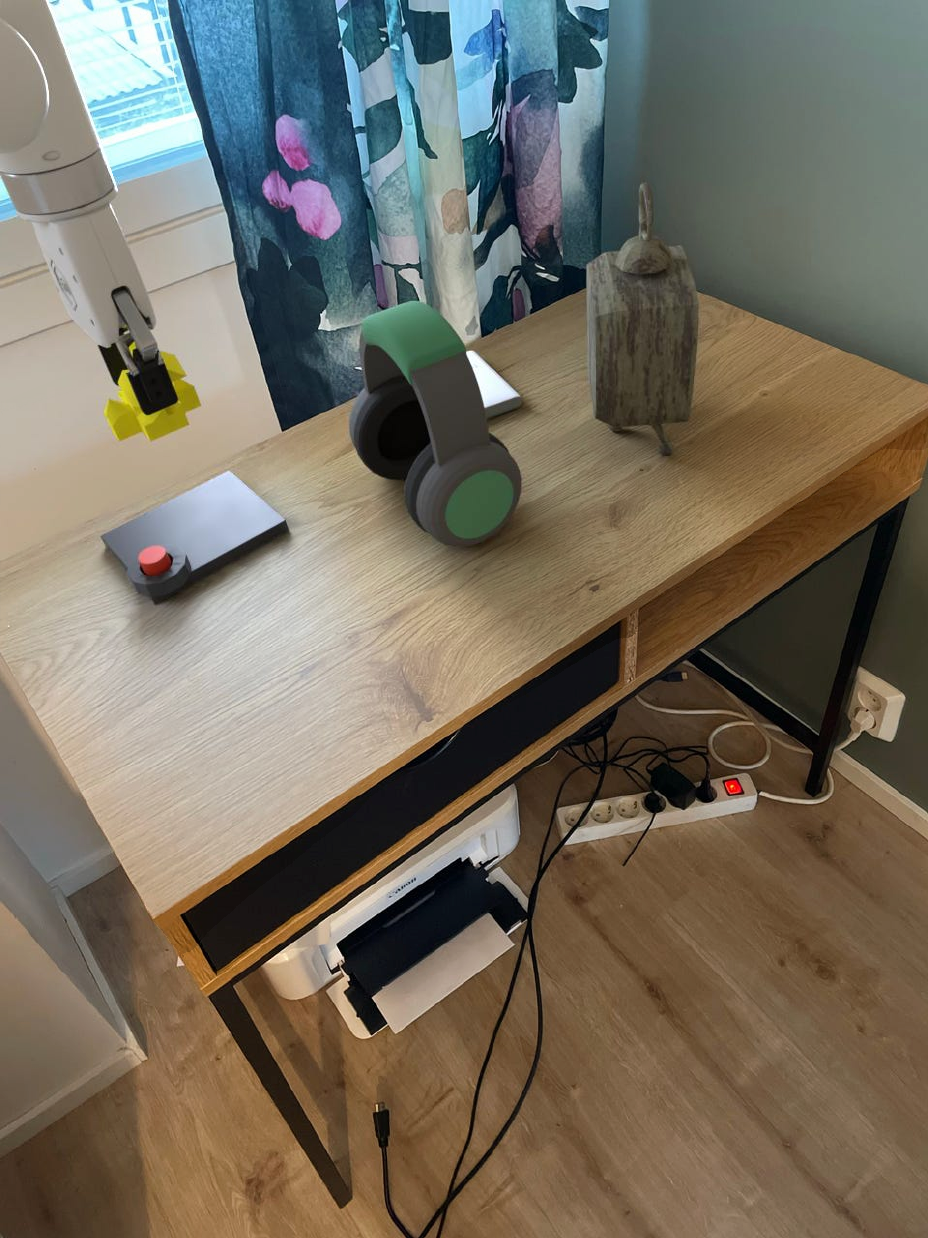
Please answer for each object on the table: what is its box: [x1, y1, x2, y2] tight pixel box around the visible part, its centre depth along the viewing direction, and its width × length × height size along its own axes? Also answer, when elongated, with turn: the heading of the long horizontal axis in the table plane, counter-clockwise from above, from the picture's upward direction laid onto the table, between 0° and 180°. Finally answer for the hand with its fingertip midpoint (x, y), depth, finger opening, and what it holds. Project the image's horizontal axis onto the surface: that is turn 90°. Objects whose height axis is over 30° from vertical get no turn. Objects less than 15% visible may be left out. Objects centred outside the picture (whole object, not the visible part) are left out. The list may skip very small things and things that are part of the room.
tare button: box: [138, 546, 171, 576], centre depth 84 cm, size 3×3×2 cm
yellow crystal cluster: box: [103, 341, 202, 442], centre depth 79 cm, size 6×8×8 cm
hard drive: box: [466, 350, 523, 420], centre depth 104 cm, size 2×8×12 cm
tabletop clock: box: [585, 181, 699, 457], centre depth 87 cm, size 14×9×25 cm, turn 179°
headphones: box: [348, 300, 523, 547], centre depth 84 cm, size 19×11×20 cm, turn 29°
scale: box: [100, 470, 290, 605], centre depth 89 cm, size 16×13×3 cm
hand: (145, 391), depth 79 cm, fingers closed on yellow crystal cluster, 5 cm apart
